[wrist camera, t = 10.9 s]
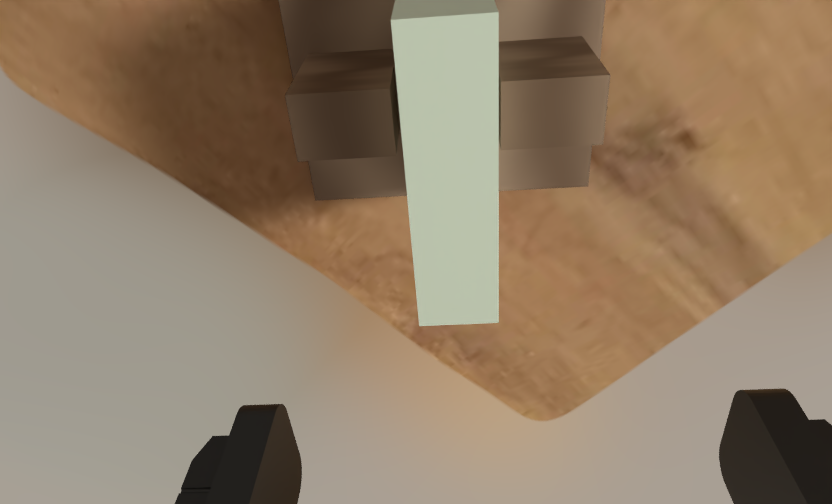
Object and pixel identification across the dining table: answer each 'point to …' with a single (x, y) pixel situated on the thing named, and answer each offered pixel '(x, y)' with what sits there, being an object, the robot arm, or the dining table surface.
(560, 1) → the slot plate
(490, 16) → the upright sage green panel
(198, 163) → the dining table surface
